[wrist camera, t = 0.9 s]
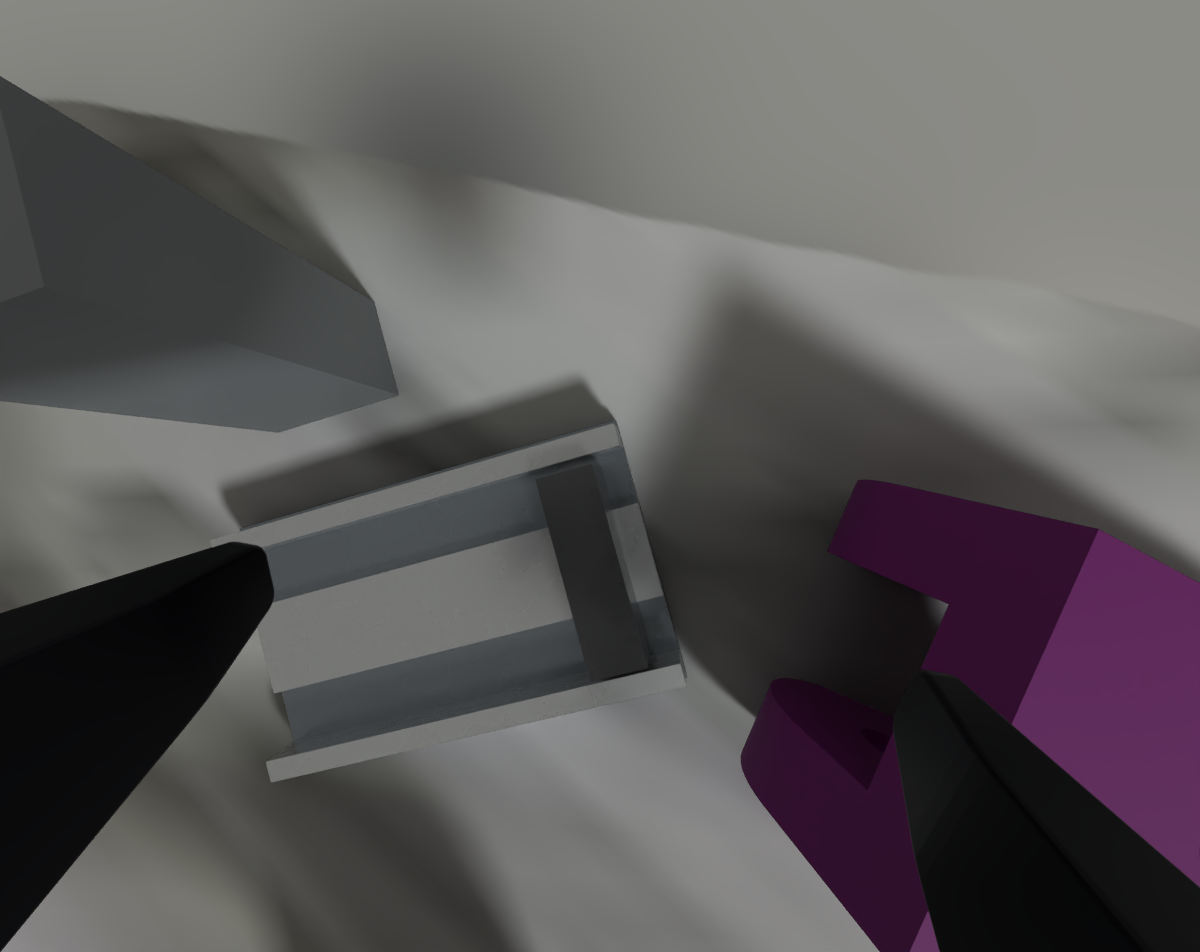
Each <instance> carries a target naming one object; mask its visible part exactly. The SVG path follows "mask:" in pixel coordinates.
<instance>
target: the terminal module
mask: <svg viewBox="0 0 1200 952" xmlns="http://www.w3.org/2000/svg"><path fill="white" fill-rule="evenodd" d="M398 395H399V394H398V390H397V386H396V383H395V379H394V375H393V371H392V368H391V364H390V360H389V356H388V352H387V349H386V345H385V341H384V337H383V334H382V330H381V326H380V322H379V319H378V315H377V311H376V307H375V303H374V301H372V300H371V299H369V298H367V297H366V296H364V295H362V294H361V293H359V292H357V291H356V290H354V289H352V288H351V287H349V286H347V285H346V284H344V283H342V282H341V281H339V280H338V279H336V278H334V277H333V276H331V275H329V274H328V273H326V272H324V271H323V270H321V269H319V268H318V267H316V266H314V265H313V264H311V263H309V262H308V261H306V260H304V259H303V258H301V257H299V256H298V255H296V254H294V253H293V252H291V251H289V250H288V249H286V248H284V247H283V246H281V245H279V244H278V243H276V242H274V241H273V240H271V239H269V238H268V237H266V236H264V235H263V234H261V233H260V232H258V231H256V230H255V229H253V228H251V227H250V226H248V225H246V224H245V223H243V222H241V221H240V220H238V219H236V218H235V217H233V216H231V215H230V214H228V213H226V212H225V211H223V210H221V209H220V208H218V207H216V206H215V205H213V204H211V203H210V202H208V201H206V200H205V199H203V198H201V197H200V196H198V195H196V194H195V193H193V192H191V191H190V190H188V189H186V188H185V187H183V186H181V185H180V184H178V183H177V182H175V181H173V180H172V179H170V178H168V177H167V176H165V175H163V174H162V173H160V172H158V171H157V170H155V169H153V168H152V167H150V166H148V165H147V164H145V163H143V162H142V161H140V160H138V159H137V158H135V157H133V156H132V155H130V154H128V153H127V152H125V151H123V150H122V149H120V148H118V147H117V146H115V145H113V144H112V143H110V142H108V141H107V140H105V139H103V138H102V137H100V136H99V135H97V134H95V133H94V132H92V131H90V130H89V129H87V128H85V127H84V126H82V125H80V124H79V123H77V122H75V121H74V120H72V119H70V118H69V117H67V116H65V115H64V114H62V113H60V112H59V111H57V110H55V109H54V108H52V107H50V106H49V105H47V104H45V103H44V102H42V101H40V100H39V99H37V98H35V97H34V96H32V95H30V94H29V93H27V92H25V91H24V90H22V89H20V88H19V87H17V86H16V85H14V84H12V83H11V82H9V81H7V80H6V79H4V78H2V77H1V76H0V401H6V402H14V403H23V404H32V405H41V406H49V407H58V408H67V409H76V410H85V411H93V412H102V413H111V414H120V415H129V416H137V417H146V418H155V419H164V420H172V421H181V422H190V423H199V424H208V425H216V426H225V427H234V428H243V429H252V430H260V431H269V432H282V431H285V430H288V429H291V428H294V427H298V426H301V425H304V424H307V423H311V422H314V421H317V420H320V419H324V418H327V417H330V416H333V415H336V414H340V413H343V412H346V411H349V410H353V409H356V408H359V407H362V406H365V405H369V404H372V403H375V402H378V401H382V400H385V399H388V398H391V397H394V396H398Z"/></svg>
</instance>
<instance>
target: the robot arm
mask: <svg viewBox="0 0 1200 952" xmlns="http://www.w3.org/2000/svg"><path fill="white" fill-rule="evenodd" d="M273 599H274V586H273V581H272V577H271V572H270V568H269V563H268V559H267V555H266V552H265V551H264V550H263V548H262V547H260V546H258V545H253V544H248V543H242V542H228V543H225V544H221V545H218V546H215V547H212V548H209V549H205V550H202V551H199V552H196V553H192V554H189V555H186V556H183V557H180V558H176V559H173V560H170V561H167V562H163V563H160V564H157V565H154V566H151V567H147V568H144V569H141V570H138V571H134V572H131V573H128V574H125V575H122V576H118V577H115V578H112V579H109V580H106V581H102V582H99V583H96V584H93V585H89V586H86V587H83V588H80V589H77V590H73V591H70V592H67V593H64V594H60V595H57V596H54V597H51V598H48V599H44V600H41V601H38V602H35V603H32V604H28V605H25V606H22V607H19V608H15V609H12V610H9V611H6V612H3V613H0V952H1V951H2V949H3V948H4V947H5V946H6V945H7V943H8V942H9V941H10V940H11V939H12V937H13V936H14V935H15V934H16V932H17V931H18V930H19V929H20V928H21V926H22V925H23V924H24V923H25V922H26V920H27V919H28V918H29V917H30V915H31V914H32V913H33V912H34V911H35V909H36V908H37V907H38V906H39V904H40V903H41V902H42V901H43V900H44V898H45V897H46V896H47V895H48V894H49V892H50V891H51V890H52V889H53V887H54V886H55V885H56V884H57V883H58V881H59V880H60V879H61V878H62V877H63V875H64V874H65V873H66V872H67V870H68V869H69V868H70V867H71V866H72V864H73V863H74V862H75V861H76V859H77V858H78V857H79V856H80V855H81V853H82V852H83V851H84V850H85V849H86V847H87V846H88V845H89V844H90V842H91V841H92V840H93V839H94V838H95V836H96V835H97V834H98V833H99V831H100V830H101V829H102V828H103V827H104V825H105V824H106V823H107V822H108V821H109V819H110V818H111V817H112V816H113V814H114V813H115V812H116V811H117V810H118V808H119V807H120V806H121V805H122V804H123V802H124V801H125V800H126V799H127V797H128V796H129V795H130V794H131V793H132V791H133V790H134V789H135V788H136V786H137V785H138V784H139V783H140V782H141V780H142V779H143V778H144V777H145V776H146V774H147V773H148V772H149V771H150V769H151V768H152V767H153V766H154V765H155V763H156V762H157V761H158V760H159V759H160V757H161V756H162V755H163V754H164V752H165V751H166V750H167V749H168V748H169V746H170V745H171V744H172V743H173V741H174V740H175V739H176V738H177V737H178V735H179V734H180V733H181V732H182V731H183V729H184V728H185V727H186V726H187V724H188V723H189V722H190V721H191V720H192V718H193V717H194V716H195V715H196V713H197V712H198V711H199V710H200V708H201V707H202V706H203V704H204V703H205V702H206V701H207V699H208V698H209V696H210V695H211V694H212V692H213V691H214V689H215V688H216V687H217V685H218V684H219V682H220V681H221V679H222V678H223V677H224V675H225V674H226V672H227V671H228V669H229V668H230V666H231V665H232V663H233V662H234V660H235V659H236V657H237V656H238V655H239V653H240V652H241V650H242V649H243V647H244V646H245V644H246V643H247V641H248V640H249V638H250V637H251V636H252V634H253V633H254V631H255V630H256V628H257V627H258V625H259V624H260V622H261V621H262V619H263V618H264V616H265V615H266V614H267V612H268V611H269V609H270V607H271V605H272V603H273ZM893 732H894V739H895V745H896V751H897V757H898V763H899V769H900V776H901V782H902V788H903V794H904V800H905V806H906V812H907V818H908V824H909V830H910V836H911V842H912V847H913V852H914V857H915V862H916V866H917V870H918V874H919V878H920V882H921V885H922V889H923V893H924V897H925V900H926V904H927V908H928V911H929V915H930V919H931V922H932V926H933V930H934V933H935V937H936V941H937V944H938V948H939V952H1200V887H1199V886H1198V885H1197V884H1196V883H1194V882H1193V881H1192V880H1191V879H1190V878H1189V877H1188V876H1186V875H1185V874H1184V873H1183V872H1182V871H1181V870H1179V869H1178V868H1177V867H1176V866H1175V865H1174V864H1173V863H1171V862H1170V861H1169V860H1168V859H1167V858H1166V857H1164V856H1163V855H1162V854H1161V853H1160V852H1159V851H1158V850H1156V849H1155V848H1154V847H1153V846H1152V845H1151V844H1149V843H1148V842H1147V841H1146V840H1145V839H1144V838H1142V837H1141V836H1140V835H1139V834H1138V833H1137V832H1136V831H1134V830H1133V829H1132V828H1131V827H1130V826H1129V825H1127V824H1126V823H1125V822H1124V821H1123V820H1122V819H1121V818H1119V817H1118V816H1117V815H1116V814H1115V813H1114V812H1112V811H1111V810H1110V809H1109V808H1108V807H1107V806H1106V805H1104V804H1103V803H1102V802H1101V801H1100V800H1099V799H1097V798H1096V797H1095V796H1094V795H1093V794H1092V793H1090V792H1089V791H1088V790H1087V789H1086V788H1085V787H1084V786H1082V785H1081V784H1080V783H1079V782H1078V781H1077V780H1075V779H1074V778H1073V777H1072V776H1071V775H1070V774H1069V773H1067V772H1066V771H1065V770H1064V769H1063V768H1062V767H1060V766H1059V765H1058V764H1057V763H1056V762H1055V761H1054V760H1052V759H1051V758H1050V757H1049V756H1048V755H1047V754H1045V753H1044V752H1043V751H1042V750H1041V749H1040V748H1039V747H1037V746H1036V745H1035V744H1034V743H1033V742H1032V741H1030V740H1029V739H1028V738H1027V737H1026V736H1025V735H1023V734H1022V733H1021V732H1020V731H1019V730H1018V729H1017V728H1015V727H1014V726H1013V725H1012V724H1011V723H1010V722H1008V721H1007V720H1006V719H1005V718H1004V717H1003V716H1002V715H1000V714H999V713H998V712H997V711H996V710H995V709H993V708H992V707H991V706H990V705H989V704H988V703H987V702H985V701H984V700H983V699H982V698H981V697H980V696H978V695H977V694H976V693H975V692H974V691H973V690H971V689H970V688H969V687H968V686H967V685H966V684H965V683H963V682H962V681H961V680H960V679H959V678H957V677H956V676H954V675H951V674H947V673H942V672H936V671H931V670H925V669H922V670H918V671H917V672H916V673H914V675H913V676H912V678H911V680H910V682H909V684H908V686H907V689H906V691H905V693H904V695H903V697H902V699H901V701H900V703H899V706H898V708H897V710H896V712H895V715H894V721H893Z"/></svg>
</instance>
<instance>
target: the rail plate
mask: <svg viewBox="0 0 1200 952" xmlns="http://www.w3.org/2000/svg"><path fill="white" fill-rule="evenodd" d="M228 542H242V543H248V544H253V545H258V546H260V547H262V548H263V550H264V551H265V552H266V555H267V559H268V563H269V568H270V572H271V577H272V581H273V586H274V599H273V603H272V605H271V607H270V609H269V611H268V612H267V614H266V615H265V616H264V618H263V619H262V621H261V622H260V624H259V625H258V627H257V629H258V633H259V637H260V641H261V645H262V649H263V653H264V657H265V661H266V665H267V669H268V673H269V676H270V680H271V684H272V688H273V692H274V693H278V692H281V693H282V697H283V701H284V705H285V708H286V712H287V716H288V720H289V724H290V728H291V732H292V736H293V740H294V742H293V743H291V744H290V745H288V746H287V747H286V748H284V749H283V750H281V751H280V752H279V753H277V754H276V755H274V756H273V757H272V758H270V759H269V760H268V761H266V765H267V769H268V773H269V777H270V781H271V783H272V782H276V781H280V780H285V779H289V778H293V777H298V776H302V775H306V774H311V773H315V772H319V771H324V770H328V769H332V768H337V767H341V766H345V765H350V764H354V763H358V762H362V761H367V760H371V759H375V758H380V757H384V756H388V755H393V754H397V753H401V752H406V751H410V750H414V749H419V748H423V747H427V746H431V745H436V744H440V743H444V742H449V741H453V740H457V739H462V738H466V737H470V736H475V735H479V734H483V733H488V732H492V731H496V730H500V729H505V728H509V727H513V726H518V725H522V724H526V723H531V722H535V721H539V720H544V719H548V718H552V717H557V716H561V715H565V714H569V713H574V712H578V711H582V710H587V709H591V708H595V707H600V706H604V705H608V704H613V703H617V702H621V701H626V700H630V699H634V698H639V697H643V696H647V695H651V694H656V693H660V692H664V691H669V690H673V689H677V688H682V687H686V678H687V673H686V669H685V666H684V662H683V658H682V655H681V651H680V648H679V644H678V640H677V637H676V633H675V630H674V626H673V622H672V619H671V615H670V612H669V608H668V604H667V601H666V597H665V594H664V590H663V586H662V583H661V579H660V576H659V572H658V568H657V565H656V561H655V558H654V554H653V551H652V547H651V543H650V540H649V536H648V533H647V529H646V525H645V522H644V518H643V515H642V511H641V507H640V504H639V500H638V497H637V493H636V489H635V486H634V482H633V479H632V475H631V471H630V468H629V464H628V461H627V457H626V453H625V450H624V446H623V443H622V439H621V435H620V432H619V428H618V425H617V421H616V420H612V421H609V422H605V423H602V424H598V425H595V426H591V427H588V428H585V429H581V430H578V431H574V432H571V433H567V434H564V435H561V436H557V437H554V438H550V439H547V440H543V441H540V442H536V443H533V444H530V445H526V446H523V447H519V448H516V449H512V450H509V451H506V452H502V453H499V454H495V455H492V456H488V457H485V458H481V459H478V460H475V461H471V462H468V463H464V464H461V465H457V466H454V467H451V468H447V469H444V470H440V471H437V472H433V473H430V474H426V475H423V476H420V477H416V478H413V479H409V480H406V481H402V482H399V483H396V484H392V485H389V486H385V487H382V488H378V489H375V490H371V491H368V492H365V493H361V494H358V495H354V496H351V497H347V498H344V499H341V500H337V501H334V502H330V503H327V504H323V505H320V506H316V507H313V508H310V509H306V510H303V511H299V512H296V513H292V514H289V515H286V516H282V517H279V518H275V519H272V520H268V521H265V522H262V523H258V524H255V525H251V526H248V527H244V528H241V529H240V532H237V533H233V534H230V535H227V536H223V537H220V538H216V539H213V540H210V543H211V547H215V546H218V545H221V544H225V543H228Z"/></svg>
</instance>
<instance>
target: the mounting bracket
mask: <svg viewBox="0 0 1200 952" xmlns="http://www.w3.org/2000/svg"><path fill="white" fill-rule="evenodd" d="M828 552H829V553H831V554H834V555H836V556H838V557H840V558H843V559H845V560H847V561H849V562H852V563H854V564H856V565H859V566H861V567H863V568H866V569H868V570H870V571H873V572H875V573H877V574H880V575H882V576H884V577H887V578H889V579H891V580H894V581H896V582H898V583H901V584H903V585H905V586H908V587H910V588H912V589H915V590H917V591H919V592H922V593H924V594H926V595H929V596H931V597H933V598H936V599H938V600H940V601H943V602H945V603H947V604H949V605H948V608H947V610H946V612H945V615H944V617H943V619H942V621H941V624H940V626H939V628H938V631H937V633H936V635H935V637H934V640H933V642H932V644H931V647H930V649H929V651H928V653H927V656H926V658H925V660H924V663H923V665H922V667H921V669H920V670H922V669H925V670H931V671H936V672H942V673H947V674H951V675H954V676H956V677H957V678H959V679H960V680H961V681H962V682H963V683H965V684H966V685H967V686H968V687H969V688H970V689H971V690H973V691H974V692H975V693H976V694H977V695H978V696H980V697H981V698H982V699H983V700H984V701H985V702H987V703H988V704H989V705H990V706H991V707H992V708H993V709H995V710H996V711H997V712H998V713H999V714H1000V715H1002V716H1003V717H1004V718H1005V719H1006V720H1007V721H1008V722H1010V723H1011V724H1012V725H1013V726H1014V727H1015V728H1017V729H1018V730H1019V731H1020V732H1021V733H1022V734H1023V735H1025V736H1026V737H1027V738H1028V739H1029V740H1030V741H1032V742H1033V743H1034V744H1035V745H1036V746H1037V747H1039V748H1040V749H1041V750H1042V751H1043V752H1044V753H1045V754H1047V755H1048V756H1049V757H1050V758H1051V759H1052V760H1054V761H1055V762H1056V763H1057V764H1058V765H1059V766H1060V767H1062V768H1063V769H1064V770H1065V771H1066V772H1067V773H1069V774H1070V775H1071V776H1072V777H1073V778H1074V779H1075V780H1077V781H1078V782H1079V783H1080V784H1081V785H1082V786H1084V787H1085V788H1086V789H1087V790H1088V791H1089V792H1090V793H1092V794H1093V795H1094V796H1095V797H1096V798H1097V799H1099V800H1100V801H1101V802H1102V803H1103V804H1104V805H1106V806H1107V807H1108V808H1109V809H1110V810H1111V811H1112V812H1114V813H1115V814H1116V815H1117V816H1118V817H1119V818H1121V819H1122V820H1123V821H1124V822H1125V823H1126V824H1127V825H1129V826H1130V827H1131V828H1132V829H1133V830H1134V831H1136V832H1137V833H1138V834H1139V835H1140V836H1141V837H1142V838H1144V839H1145V840H1146V841H1147V842H1148V843H1149V844H1151V845H1152V846H1153V847H1154V848H1155V849H1156V850H1158V851H1159V852H1160V853H1161V854H1162V855H1163V856H1164V857H1166V858H1167V859H1168V860H1169V861H1170V862H1171V863H1173V864H1174V865H1175V866H1176V867H1177V868H1178V869H1179V870H1181V871H1182V872H1183V873H1184V874H1185V875H1186V876H1188V877H1189V878H1190V879H1191V880H1192V881H1193V882H1194V883H1196V884H1197V885H1198V886H1199V887H1200V583H1198V582H1197V581H1195V580H1193V579H1191V578H1189V577H1187V576H1185V575H1184V574H1182V573H1180V572H1178V571H1176V570H1174V569H1172V568H1170V567H1169V566H1167V565H1165V564H1163V563H1161V562H1159V561H1157V560H1155V559H1154V558H1152V557H1150V556H1148V555H1146V554H1144V553H1142V552H1140V551H1139V550H1137V549H1135V548H1133V547H1131V546H1129V545H1127V544H1126V543H1124V542H1122V541H1120V540H1118V539H1116V538H1114V537H1112V536H1111V535H1109V534H1107V533H1105V532H1103V531H1101V530H1099V529H1095V528H1091V527H1086V526H1082V525H1077V524H1073V523H1068V522H1064V521H1059V520H1055V519H1050V518H1046V517H1041V516H1037V515H1032V514H1028V513H1023V512H1019V511H1014V510H1010V509H1005V508H1001V507H996V506H992V505H987V504H983V503H978V502H974V501H969V500H965V499H960V498H956V497H951V496H947V495H942V494H938V493H933V492H929V491H924V490H920V489H915V488H911V487H906V486H902V485H897V484H892V483H887V482H881V481H874V480H858V481H857V483H856V485H855V487H854V490H853V492H852V494H851V497H850V499H849V501H848V504H847V506H846V508H845V511H844V513H843V515H842V518H841V520H840V523H839V525H838V527H837V530H836V532H835V534H834V537H833V539H832V541H831V544H830V546H829V548H828ZM893 721H894V717H892V716H890V715H887V714H885V713H883V712H880V711H878V710H876V709H874V708H871V707H869V706H867V705H864V704H862V703H860V702H857V701H855V700H853V699H851V698H848V697H846V696H844V695H841V694H839V693H837V692H834V691H832V690H830V689H827V688H825V687H823V686H820V685H817V684H813V683H810V682H806V681H802V680H797V679H789V678H780V679H776V680H774V681H773V682H772V683H771V684H770V687H769V689H768V692H767V694H766V696H765V699H764V701H763V703H762V706H761V708H760V710H759V713H758V715H757V717H756V720H755V722H754V724H753V727H752V729H751V731H750V734H749V736H748V738H747V741H746V743H745V746H744V748H743V750H742V753H741V765H742V770H743V772H744V775H745V777H746V779H747V781H748V783H749V785H750V787H751V788H752V790H753V791H754V793H755V795H756V796H757V797H758V799H759V800H760V801H761V803H762V804H763V806H764V807H765V808H766V809H767V811H768V812H769V813H770V814H771V816H772V817H773V818H774V819H775V821H776V822H777V823H778V824H779V826H780V827H781V828H782V829H783V831H784V832H785V833H786V834H787V836H788V837H789V838H790V839H791V841H792V842H793V843H794V845H795V846H796V847H797V848H798V850H799V851H800V852H801V853H802V855H803V856H804V857H805V858H806V860H807V861H808V862H809V863H810V865H811V866H812V867H813V868H814V870H815V871H816V872H817V873H818V875H819V876H820V877H821V878H822V880H823V881H824V882H825V883H826V885H827V886H828V887H829V888H830V890H831V891H832V892H833V894H834V895H835V896H836V897H837V899H838V900H839V901H840V902H841V904H842V905H843V906H844V907H845V909H846V910H847V911H848V912H849V914H850V915H851V916H852V917H853V919H854V920H855V921H856V922H857V924H858V925H859V926H860V927H861V929H862V930H863V931H864V932H865V934H866V935H867V936H868V937H869V939H870V940H871V941H872V943H873V944H874V945H875V946H876V948H877V949H878V950H879V951H880V952H939V948H938V944H937V941H936V937H935V933H934V930H933V926H932V922H931V919H930V915H929V911H928V908H927V904H926V900H925V897H924V893H923V889H922V885H921V882H920V878H919V874H918V870H917V866H916V862H915V857H914V852H913V847H912V842H911V836H910V830H909V824H908V818H907V812H906V806H905V800H904V794H903V788H902V782H901V776H900V769H899V763H898V757H897V751H896V745H895V739H894V732H893Z"/></svg>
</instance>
